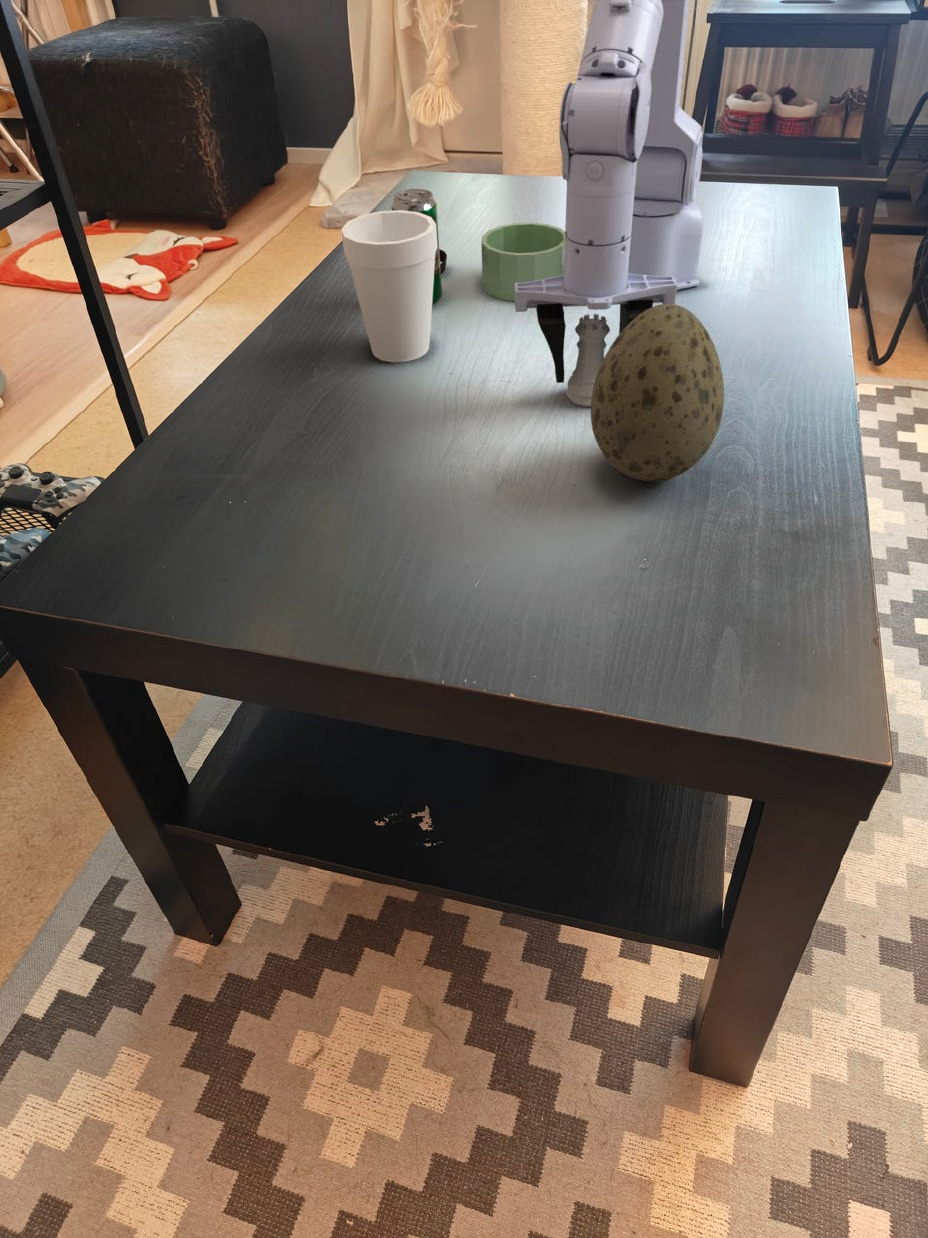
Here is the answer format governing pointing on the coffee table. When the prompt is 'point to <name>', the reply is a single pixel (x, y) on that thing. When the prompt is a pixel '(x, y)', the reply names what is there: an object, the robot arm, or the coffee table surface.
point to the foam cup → (393, 279)
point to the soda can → (426, 205)
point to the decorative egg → (658, 395)
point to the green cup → (520, 256)
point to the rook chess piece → (587, 358)
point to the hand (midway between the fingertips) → (589, 376)
